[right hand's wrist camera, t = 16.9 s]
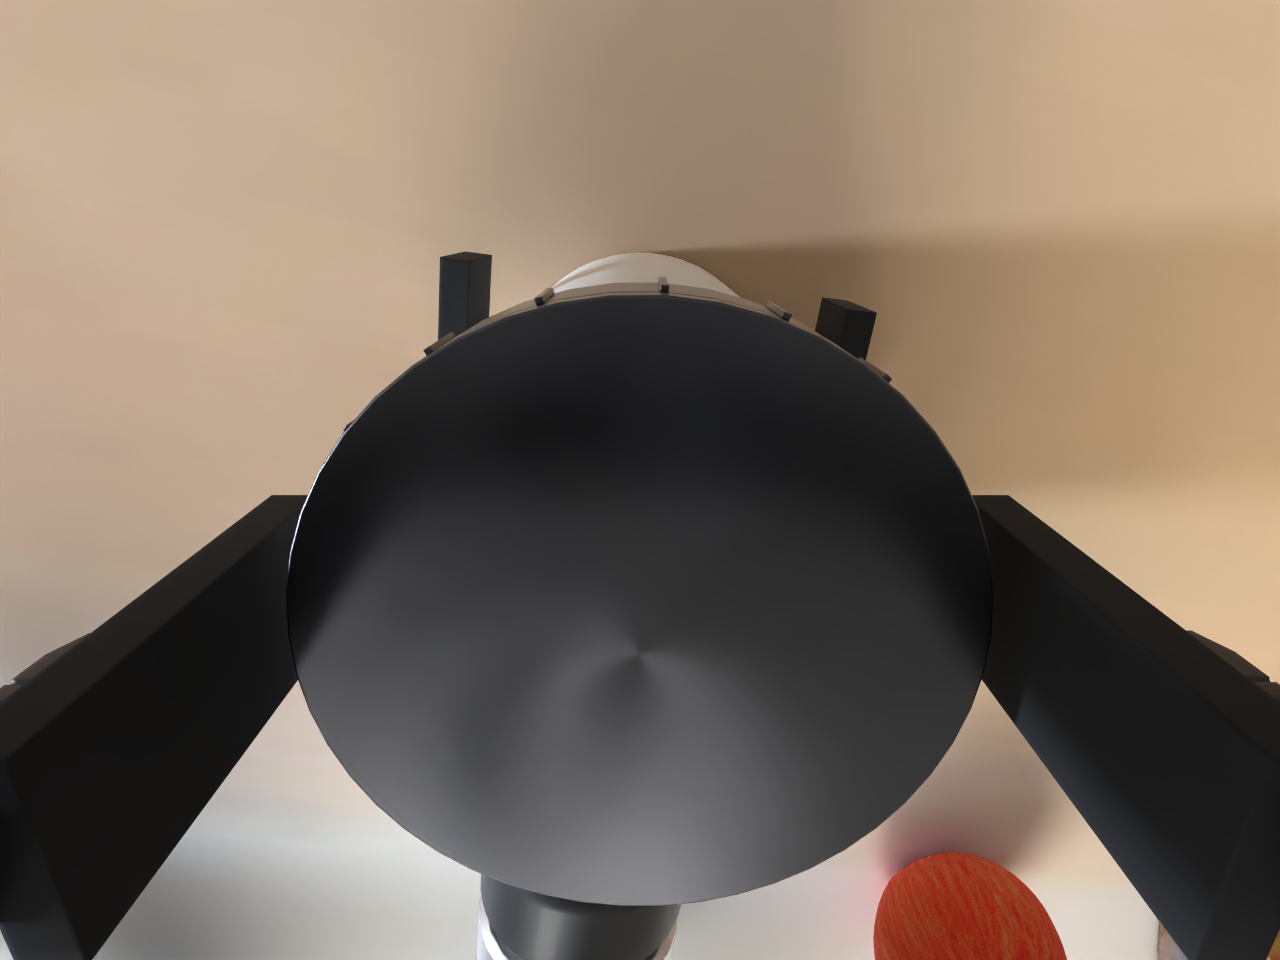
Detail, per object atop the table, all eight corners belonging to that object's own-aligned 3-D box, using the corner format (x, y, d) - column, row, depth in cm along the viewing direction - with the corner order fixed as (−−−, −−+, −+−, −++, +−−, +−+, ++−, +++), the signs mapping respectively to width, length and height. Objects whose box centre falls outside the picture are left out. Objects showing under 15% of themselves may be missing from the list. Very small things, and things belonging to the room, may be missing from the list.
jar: (568, 531, 29) (481, 914, 13) (472, 306, 26) (205, 450, 10) (795, 458, 28) (999, 779, 12) (723, 212, 25) (873, 209, 9)
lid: (1060, 616, 12) (1128, 679, 10) (618, 903, 15) (615, 992, 13) (673, 115, 9) (679, 94, 8) (207, 569, 12) (135, 628, 10)
